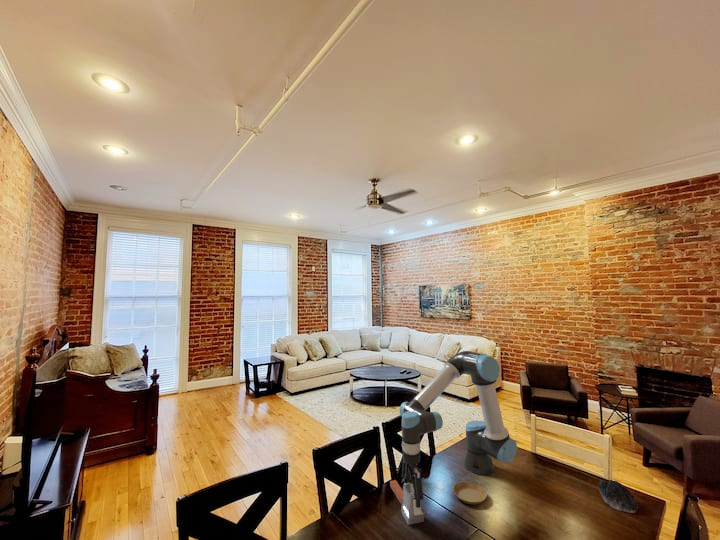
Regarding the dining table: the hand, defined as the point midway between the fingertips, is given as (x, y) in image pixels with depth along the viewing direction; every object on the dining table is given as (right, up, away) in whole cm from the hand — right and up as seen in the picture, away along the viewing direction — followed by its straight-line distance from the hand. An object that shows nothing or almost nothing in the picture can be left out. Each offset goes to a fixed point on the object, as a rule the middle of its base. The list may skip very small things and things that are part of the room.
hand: (412, 506), depth 133 cm
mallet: (-2, -5, +9) cm, 11 cm away
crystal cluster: (+93, -5, +7) cm, 93 cm away
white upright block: (0, -2, 0) cm, 2 cm away
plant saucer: (+29, -6, +13) cm, 32 cm away
